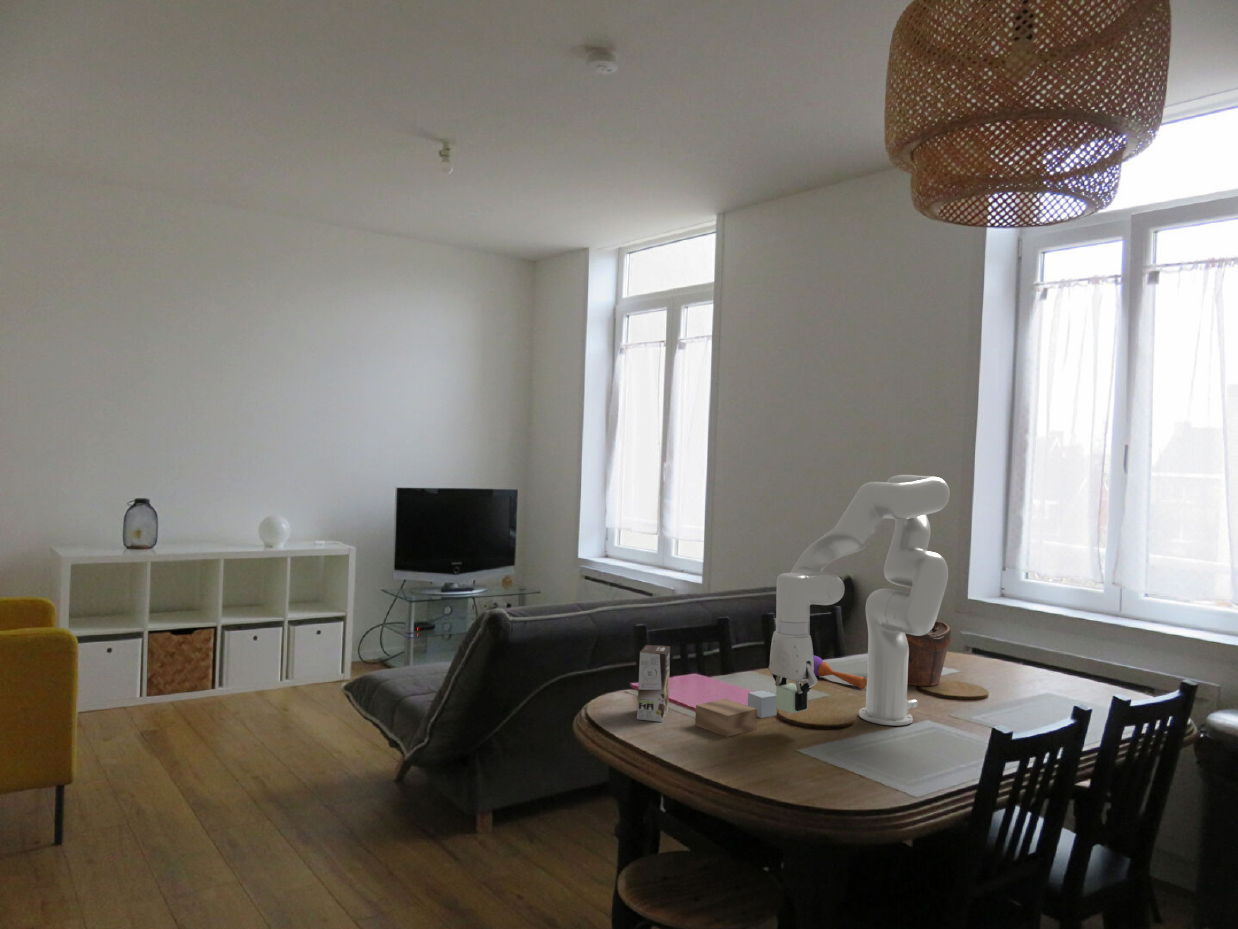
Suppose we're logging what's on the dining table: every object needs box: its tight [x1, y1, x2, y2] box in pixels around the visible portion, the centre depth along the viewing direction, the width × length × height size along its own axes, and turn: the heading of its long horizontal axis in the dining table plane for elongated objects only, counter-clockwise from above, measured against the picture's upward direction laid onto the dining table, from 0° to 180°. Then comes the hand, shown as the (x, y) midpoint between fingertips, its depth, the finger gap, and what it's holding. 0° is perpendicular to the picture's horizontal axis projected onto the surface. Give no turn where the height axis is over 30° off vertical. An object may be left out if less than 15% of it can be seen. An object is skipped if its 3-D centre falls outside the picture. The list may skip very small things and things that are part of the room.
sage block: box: [775, 682, 809, 715], centre depth 203 cm, size 5×5×5 cm
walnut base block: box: [694, 698, 758, 738], centre depth 206 cm, size 10×10×5 cm
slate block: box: [747, 689, 778, 719], centre depth 218 cm, size 5×5×5 cm
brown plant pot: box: [905, 620, 953, 687], centre depth 256 cm, size 18×20×18 cm
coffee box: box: [636, 644, 671, 723], centre depth 213 cm, size 9×6×16 cm
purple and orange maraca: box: [813, 654, 867, 690], centre depth 253 cm, size 6×6×20 cm
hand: (792, 705), depth 204 cm, fingers closed on sage block, 4 cm apart
